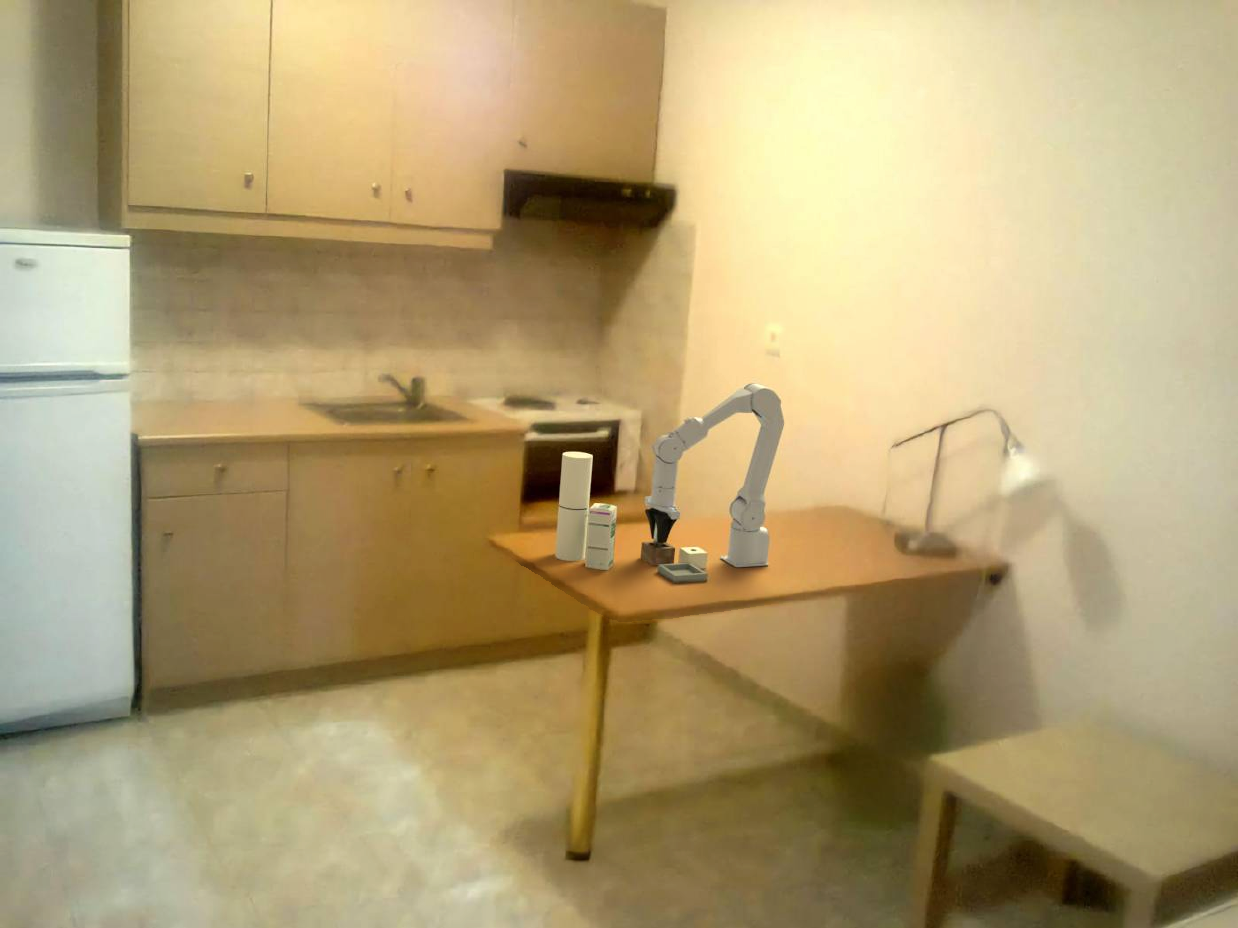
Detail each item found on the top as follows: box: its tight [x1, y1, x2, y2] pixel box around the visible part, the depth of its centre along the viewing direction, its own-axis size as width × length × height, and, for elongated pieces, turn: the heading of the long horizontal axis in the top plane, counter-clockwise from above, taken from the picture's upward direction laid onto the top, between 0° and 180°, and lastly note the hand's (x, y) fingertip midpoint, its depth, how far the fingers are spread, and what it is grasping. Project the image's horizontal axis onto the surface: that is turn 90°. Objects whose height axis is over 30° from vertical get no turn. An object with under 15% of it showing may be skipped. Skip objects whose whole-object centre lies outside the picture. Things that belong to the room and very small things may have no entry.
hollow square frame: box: [640, 541, 676, 566], centre depth 259 cm, size 6×6×4 cm
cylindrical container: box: [554, 451, 594, 562], centre depth 255 cm, size 7×7×25 cm
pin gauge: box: [652, 520, 664, 548], centre depth 259 cm, size 3×3×8 cm
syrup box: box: [584, 502, 618, 571], centre depth 251 cm, size 6×6×14 cm
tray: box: [657, 562, 708, 584], centre depth 249 cm, size 8×8×2 cm
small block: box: [677, 546, 708, 570], centre depth 258 cm, size 5×5×4 cm
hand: (658, 540), depth 259 cm, fingers closed on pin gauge, 3 cm apart
